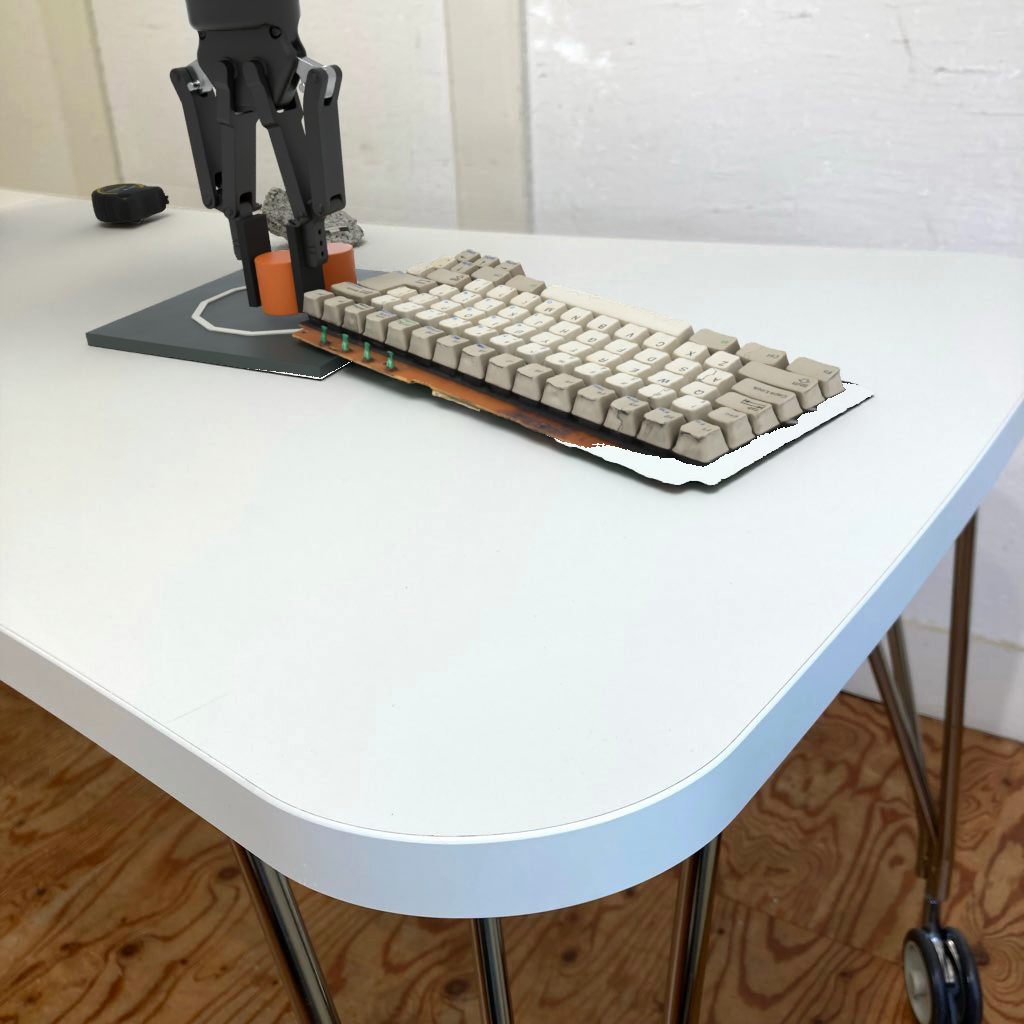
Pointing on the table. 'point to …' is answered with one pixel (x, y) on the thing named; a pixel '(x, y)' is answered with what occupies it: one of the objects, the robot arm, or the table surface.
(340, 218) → the rock sample
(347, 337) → the mechanical keyboard
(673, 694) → the table surface
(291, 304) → the orange cylinder
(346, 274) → the short orange drum
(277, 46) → the robot arm
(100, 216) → the tape measure
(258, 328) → the slate board
